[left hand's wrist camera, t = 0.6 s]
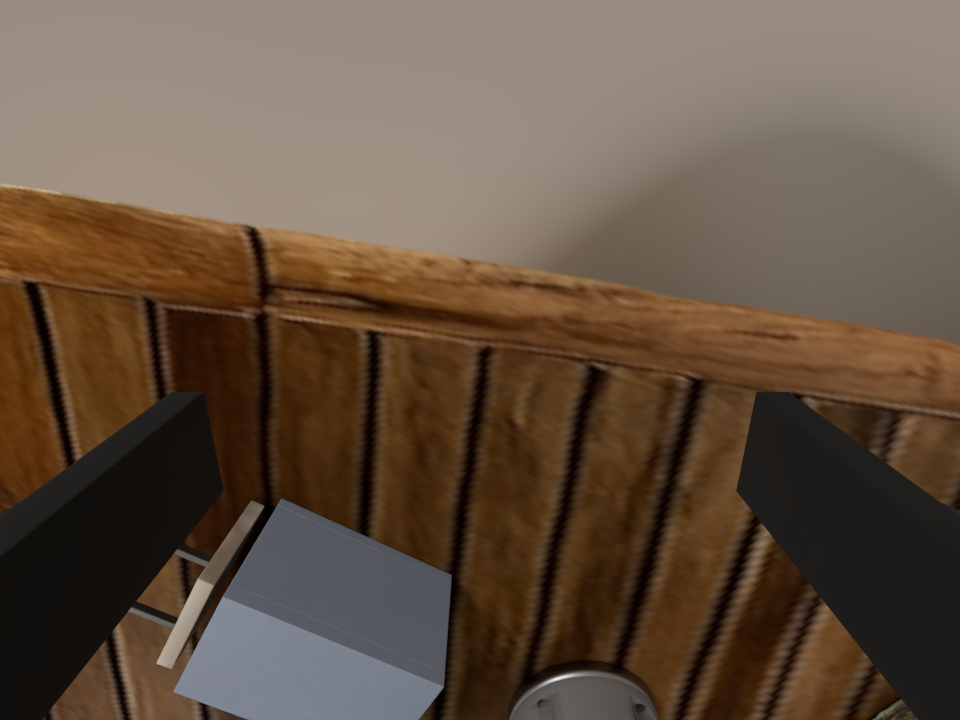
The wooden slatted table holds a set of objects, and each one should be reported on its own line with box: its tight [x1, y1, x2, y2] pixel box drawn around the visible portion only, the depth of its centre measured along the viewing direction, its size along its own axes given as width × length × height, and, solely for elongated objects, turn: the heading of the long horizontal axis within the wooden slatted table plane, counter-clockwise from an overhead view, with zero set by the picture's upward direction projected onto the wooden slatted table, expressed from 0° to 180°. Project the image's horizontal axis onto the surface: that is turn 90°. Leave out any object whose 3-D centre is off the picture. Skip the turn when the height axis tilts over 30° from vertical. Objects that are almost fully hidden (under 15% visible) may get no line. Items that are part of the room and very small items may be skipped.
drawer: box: [128, 501, 264, 669], centre depth 42 cm, size 22×9×9 cm, turn 60°
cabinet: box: [174, 499, 452, 720], centre depth 43 cm, size 17×10×11 cm, turn 60°
